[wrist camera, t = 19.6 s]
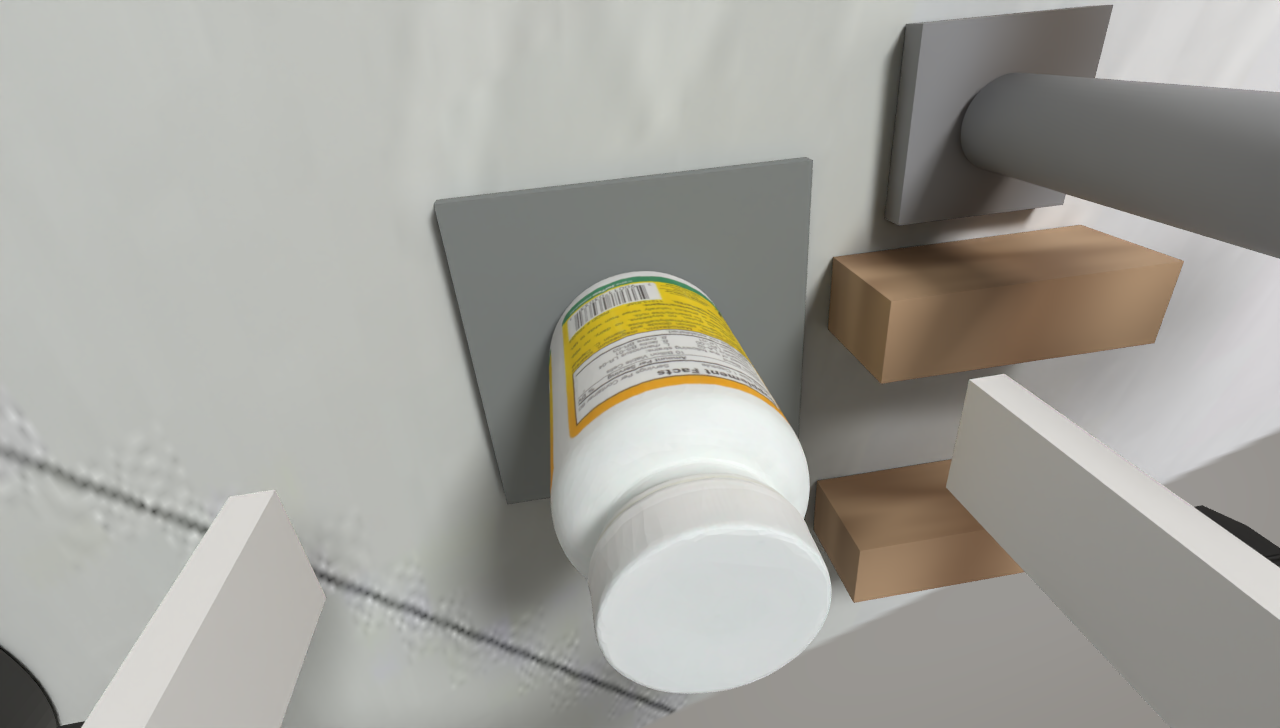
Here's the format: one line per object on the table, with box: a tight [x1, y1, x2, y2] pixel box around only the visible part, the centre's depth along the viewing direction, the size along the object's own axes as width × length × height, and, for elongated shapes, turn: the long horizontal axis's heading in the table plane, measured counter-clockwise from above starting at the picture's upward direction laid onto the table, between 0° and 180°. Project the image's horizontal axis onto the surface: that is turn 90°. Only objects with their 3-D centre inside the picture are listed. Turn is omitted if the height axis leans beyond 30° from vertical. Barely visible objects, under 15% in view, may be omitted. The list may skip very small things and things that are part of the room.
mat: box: [434, 157, 813, 504], centre depth 19 cm, size 10×10×1 cm
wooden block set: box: [814, 5, 1184, 603], centre depth 18 cm, size 8×17×4 cm, turn 5°
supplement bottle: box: [549, 271, 831, 694], centre depth 14 cm, size 5×5×10 cm
